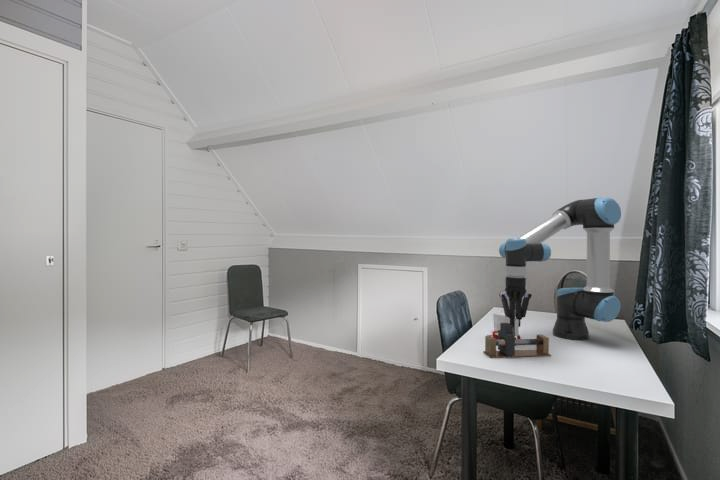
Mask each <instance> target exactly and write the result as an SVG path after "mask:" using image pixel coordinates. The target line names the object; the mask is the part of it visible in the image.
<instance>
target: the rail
mask: <svg viewBox="0 0 720 480" xmlns="http://www.w3.org/2000/svg"><path fill="white" fill-rule="evenodd" d="M484 337H485V339H484V340H485V341H484V342H485V343H484V345H485V346H484V347H485V349H484V350H483V354H484V355H485V356H487V357H489V358H490V359H511V358H513V359H514V358H536V357H537V358H540V357H541V358H542V357H545V358H546V357H552V354H550V352H549V350H550V349H549V348H550V345H549V344H550V338H549V337H548V336H546V335H544V334H541V333H540V334H539V333H538V334H536V337H535V338H521V339H517V338H516V339H515V345H516V346H534V345H535V347H536V349H515V355H514V356H507V355H506V354H504V353H503V352H501V351H500V350H497V347H498V346H505V339H502V340H496V339H495V338H493V336H489V335H488V336H487V335H485V336H484Z"/></svg>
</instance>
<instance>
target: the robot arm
mask: <svg viewBox="0 0 720 480" xmlns="http://www.w3.org/2000/svg"><path fill="white" fill-rule="evenodd" d="M551 214H552V215H551V216H550V217H549V218H547V219H545V220H544V221H542V222H540V223H539V224H537V225H535V226H534V227H533V228H531V229H530V230H527V231H526V232H525V233H523V234H522V235H520V236H519V237H517V238H507V239H506V242H503V243H501V244H500V246H499V249H498V253H499V255H500V256H501V258H503V259H505V276H506V277H505V289H504V291H503V292H501V293H498V296H499V298H500V299H501V303H502V309H503V311H504V313H505V316H506V317H508V318H510V324H511V325H512V334H513V335H515V337H517V336H518V334H519V329H520V327H521V320H523V318H526V316H527V311H528V307H529V303H530V299H531V298H532V297H533V295H532V293H530V292H527V289H526V281H527V278H526V275H527V267H526V266H527V262H540V263H541V262H546V261H548V260H549V259H550V258H551V257H552V256H551V255H552V249H551V247H550V245H549V244H547V243H544V242H545V241H546V240H547V239H549V238H551V237H552V236H554V235H555V234H558V232H560V231H562V230H567V229H569V228H571V227H573V226H582V229H583V230H584V231H585V232H586V286H584V287H562V288H559V289H558V290H557V294H556V320H555V323H554V325H553V327H552V335H553V336H555V337H559V338H562V339H566V340H574V341H575V340H576V341H583V340H588V339H590V333H589V332H590V331H589V329H588V327H587V324H586V318H587V319H590V320H595V321H597V322H603V323H604V322H605V323H609V322H612V321H614V320H615V319H616V318H617V317H618V315H619V313H620V311H621V308H622V306H621V301H620V299H619V298H618V297H617V296H615V292H614V289H612V288H611V286H610V283H611V282H610V278H611V277H610V275H611V271H610V269H611V266H610V265H611V263H610V261H611V259H610V257H611V254H610V252H611V232H612V231H613V230H614V229H615V225H616V224H618V222H620V219H621V218H622V209H621V206H620V205H619V203H618V202H617V201H616V200H615V199H613V197H612V198H611V197H594V198H586V199H576V200H574V201H572V202H569V203H568V204H566V205H564V206H561V207H560V208H558V209H556V210H555V211H554V212H553V213H551ZM507 298H508V299H507Z"/></svg>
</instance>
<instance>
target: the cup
mask: <svg viewBox="0 0 720 480" xmlns="http://www.w3.org/2000/svg"><path fill="white" fill-rule="evenodd" d="M492 318H493V319H492V320H493V332H494V331H498V330H500V323H509V324H510V318H508V317H506V316H505V313H504V310H501V311H500V310H499V311H498V310H495V311H493V312H492Z"/></svg>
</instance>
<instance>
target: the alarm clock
mask: <svg viewBox="0 0 720 480" xmlns="http://www.w3.org/2000/svg"><path fill="white" fill-rule="evenodd" d="M486 336H492V337H493V338H495V339H496V340H498V331H494V330H493V331H492V334H487V335H486ZM515 339H522V338H521V335H520V334H519V333H518V336H516V337H515ZM516 346H517V345H515V347H516Z"/></svg>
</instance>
